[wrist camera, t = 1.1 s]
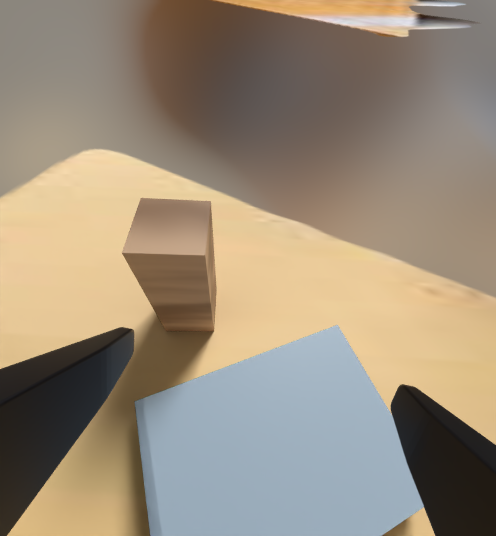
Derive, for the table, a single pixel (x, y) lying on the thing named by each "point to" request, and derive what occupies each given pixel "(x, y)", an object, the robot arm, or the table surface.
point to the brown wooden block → (175, 261)
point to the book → (275, 449)
